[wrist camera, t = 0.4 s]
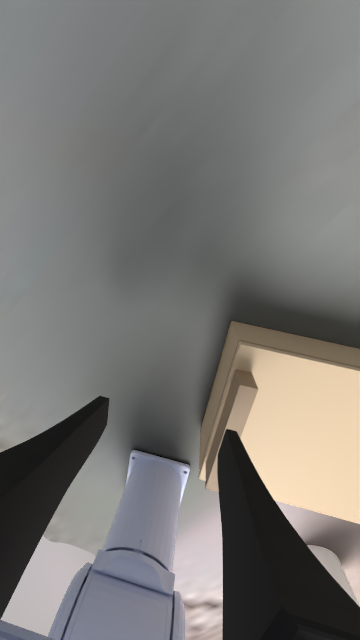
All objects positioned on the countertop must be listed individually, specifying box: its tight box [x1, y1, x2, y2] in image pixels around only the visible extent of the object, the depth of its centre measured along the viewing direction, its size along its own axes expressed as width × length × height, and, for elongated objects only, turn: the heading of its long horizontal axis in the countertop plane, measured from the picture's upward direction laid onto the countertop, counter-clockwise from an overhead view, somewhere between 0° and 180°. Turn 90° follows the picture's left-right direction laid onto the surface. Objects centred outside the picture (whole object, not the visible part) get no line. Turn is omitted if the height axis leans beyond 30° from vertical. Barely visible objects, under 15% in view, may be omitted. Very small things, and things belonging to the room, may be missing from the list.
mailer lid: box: [199, 341, 360, 524], centre depth 15 cm, size 14×16×3 cm
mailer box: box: [199, 321, 360, 470], centre depth 19 cm, size 14×16×5 cm
